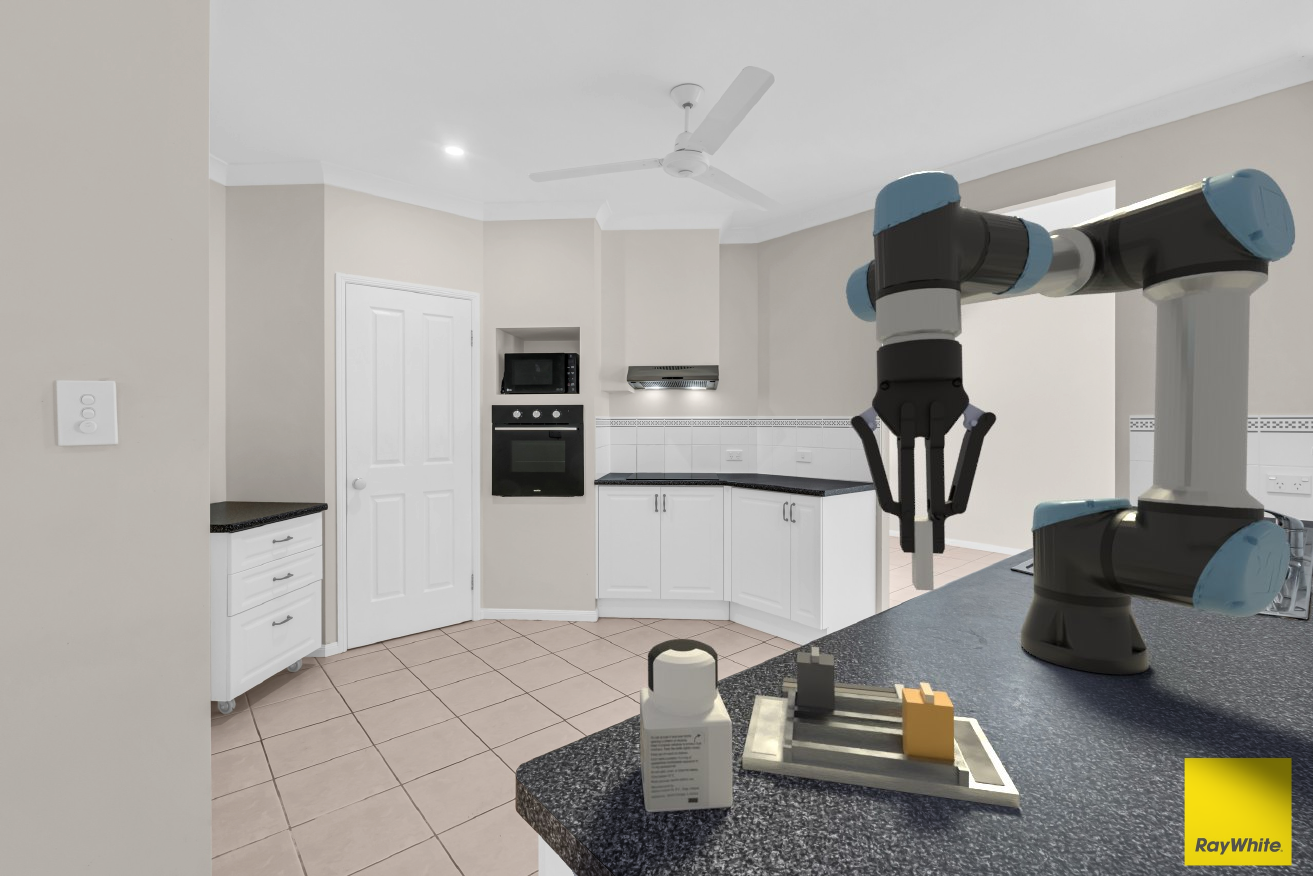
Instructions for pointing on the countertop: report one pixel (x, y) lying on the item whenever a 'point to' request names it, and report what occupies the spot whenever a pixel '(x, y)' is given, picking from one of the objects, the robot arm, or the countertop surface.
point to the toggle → (815, 680)
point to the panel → (871, 749)
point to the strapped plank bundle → (852, 689)
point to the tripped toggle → (927, 723)
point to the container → (684, 730)
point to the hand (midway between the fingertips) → (922, 586)
